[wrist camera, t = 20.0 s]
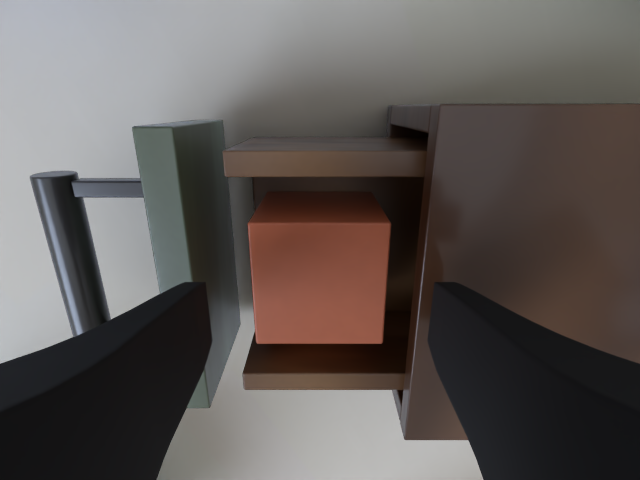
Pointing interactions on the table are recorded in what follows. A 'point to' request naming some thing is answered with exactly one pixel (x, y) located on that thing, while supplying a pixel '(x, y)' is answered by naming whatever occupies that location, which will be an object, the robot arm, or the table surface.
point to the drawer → (218, 248)
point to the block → (319, 268)
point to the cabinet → (524, 229)
